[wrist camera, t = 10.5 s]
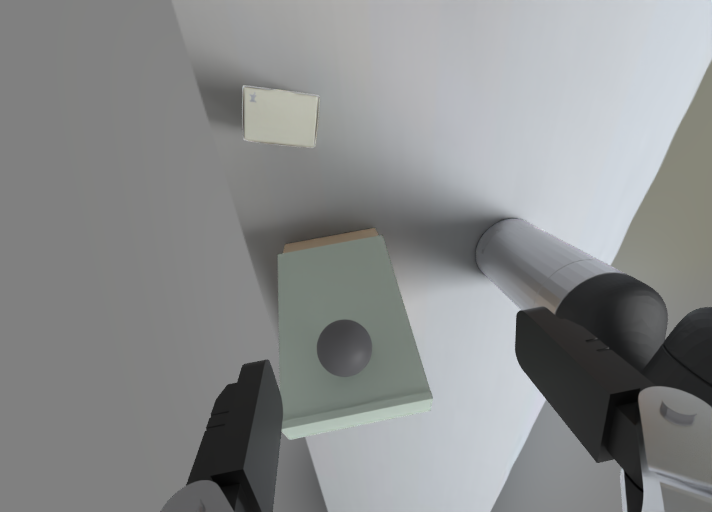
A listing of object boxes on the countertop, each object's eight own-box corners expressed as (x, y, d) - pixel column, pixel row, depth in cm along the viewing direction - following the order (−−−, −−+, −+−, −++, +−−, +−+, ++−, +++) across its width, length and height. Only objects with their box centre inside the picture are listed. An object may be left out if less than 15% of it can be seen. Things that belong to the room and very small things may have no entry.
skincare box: (260, 132, 39) (237, 141, 28) (260, 91, 38) (237, 83, 27) (316, 139, 40) (316, 150, 29) (319, 99, 39) (320, 94, 28)
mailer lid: (284, 270, 42) (262, 216, 35) (383, 252, 42) (380, 194, 36) (289, 439, 29) (256, 405, 23) (430, 410, 30) (439, 369, 23)
